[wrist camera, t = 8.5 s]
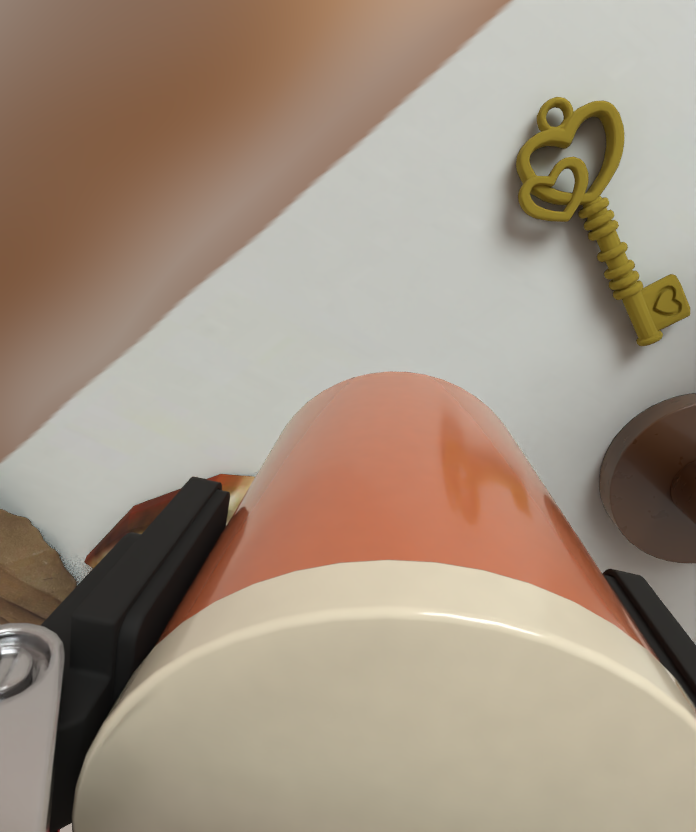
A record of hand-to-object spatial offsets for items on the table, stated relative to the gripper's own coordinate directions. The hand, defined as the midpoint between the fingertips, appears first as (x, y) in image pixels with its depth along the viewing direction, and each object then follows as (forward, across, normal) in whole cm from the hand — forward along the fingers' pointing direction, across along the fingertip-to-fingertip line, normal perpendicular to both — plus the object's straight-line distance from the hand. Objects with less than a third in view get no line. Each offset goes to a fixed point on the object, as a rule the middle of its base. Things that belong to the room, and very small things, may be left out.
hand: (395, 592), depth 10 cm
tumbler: (+4, 0, 0) cm, 4 cm away
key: (+18, -7, -9) cm, 21 cm away
